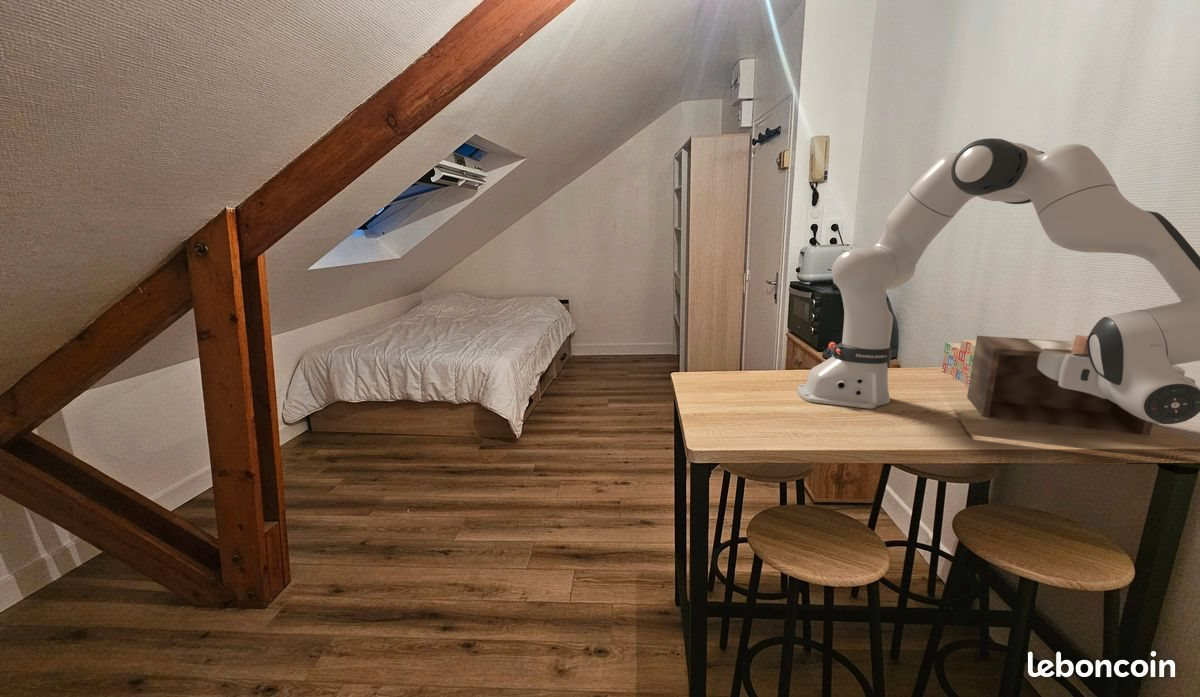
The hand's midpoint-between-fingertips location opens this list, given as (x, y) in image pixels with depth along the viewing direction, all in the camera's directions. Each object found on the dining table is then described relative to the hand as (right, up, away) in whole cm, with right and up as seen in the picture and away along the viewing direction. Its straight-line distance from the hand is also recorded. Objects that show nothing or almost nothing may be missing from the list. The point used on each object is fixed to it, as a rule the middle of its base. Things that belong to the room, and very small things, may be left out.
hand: (1089, 359), depth 107 cm
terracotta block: (0, -6, 0) cm, 6 cm away
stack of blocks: (+8, -8, +46) cm, 47 cm away
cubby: (+6, -14, +16) cm, 22 cm away
